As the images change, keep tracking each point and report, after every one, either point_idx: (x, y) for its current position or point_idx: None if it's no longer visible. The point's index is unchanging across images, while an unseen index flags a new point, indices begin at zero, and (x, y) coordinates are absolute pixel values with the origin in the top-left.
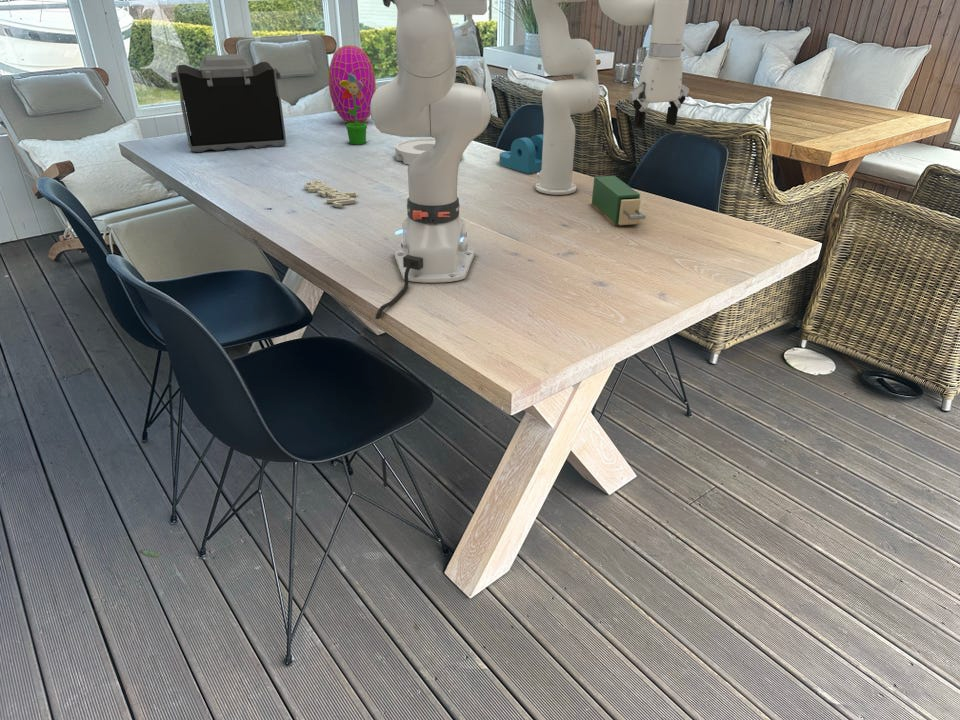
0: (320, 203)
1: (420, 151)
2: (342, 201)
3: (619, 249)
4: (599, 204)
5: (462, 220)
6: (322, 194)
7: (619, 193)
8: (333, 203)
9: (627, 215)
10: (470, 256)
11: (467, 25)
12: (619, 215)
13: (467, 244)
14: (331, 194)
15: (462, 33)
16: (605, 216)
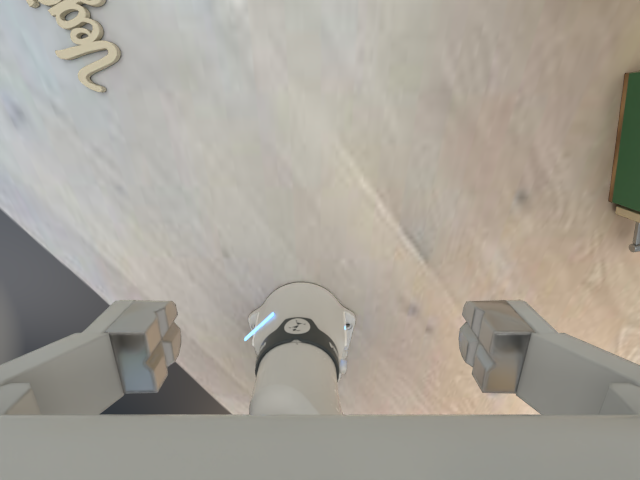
0: (48, 55)
1: None
2: (96, 70)
3: (565, 296)
4: (630, 120)
5: (343, 350)
6: (29, 2)
7: None
8: (81, 82)
9: (634, 238)
10: (350, 334)
11: (552, 413)
12: (628, 212)
13: (346, 363)
14: (52, 13)
15: (471, 359)
16: (615, 156)
